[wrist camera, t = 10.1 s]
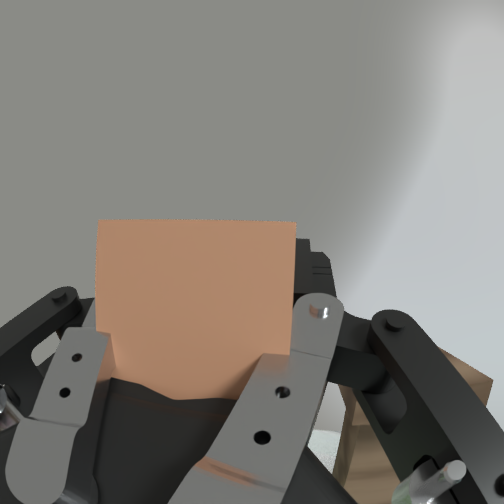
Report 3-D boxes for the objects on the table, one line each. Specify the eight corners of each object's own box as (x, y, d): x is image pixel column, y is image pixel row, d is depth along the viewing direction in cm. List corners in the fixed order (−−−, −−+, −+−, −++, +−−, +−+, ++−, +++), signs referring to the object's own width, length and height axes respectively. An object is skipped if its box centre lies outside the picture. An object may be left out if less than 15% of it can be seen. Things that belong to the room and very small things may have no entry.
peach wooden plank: (247, 295, 29) (249, 254, 29) (288, 297, 29) (290, 255, 29) (102, 399, 6) (98, 219, 6) (282, 431, 5) (296, 222, 5)
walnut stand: (290, 524, 30) (318, 332, 30) (367, 521, 28) (420, 331, 29) (282, 602, 14) (340, 396, 15) (382, 593, 12) (503, 377, 13)
